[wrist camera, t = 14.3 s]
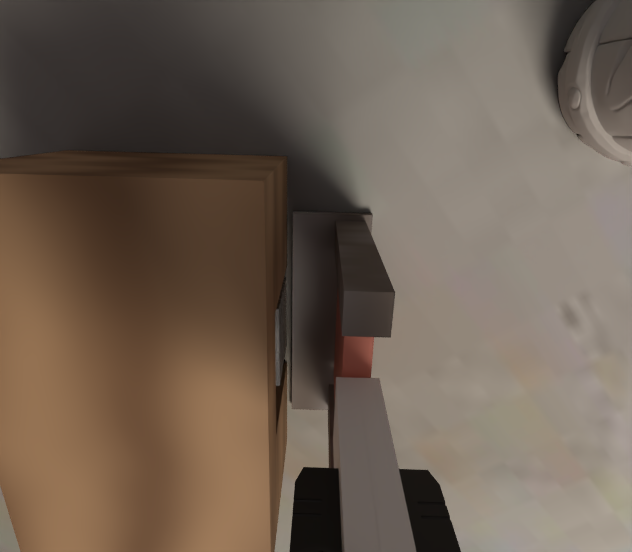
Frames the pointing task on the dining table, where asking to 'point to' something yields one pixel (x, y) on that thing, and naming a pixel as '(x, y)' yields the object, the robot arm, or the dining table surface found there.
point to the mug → (600, 79)
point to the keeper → (351, 354)
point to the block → (164, 345)
